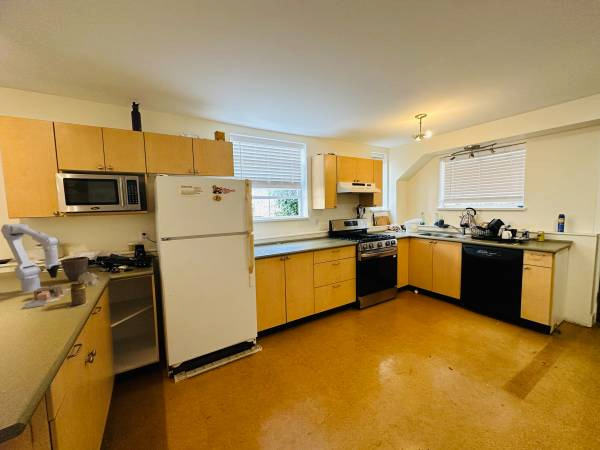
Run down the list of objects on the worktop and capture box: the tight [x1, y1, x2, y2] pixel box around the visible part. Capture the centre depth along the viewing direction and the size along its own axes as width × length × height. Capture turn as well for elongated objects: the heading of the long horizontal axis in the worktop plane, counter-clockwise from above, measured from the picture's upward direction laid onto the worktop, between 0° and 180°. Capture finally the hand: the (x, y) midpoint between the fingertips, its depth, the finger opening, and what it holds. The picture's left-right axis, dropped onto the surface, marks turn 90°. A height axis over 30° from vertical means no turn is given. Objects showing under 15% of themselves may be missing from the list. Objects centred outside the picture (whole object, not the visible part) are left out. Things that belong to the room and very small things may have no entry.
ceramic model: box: [77, 271, 102, 289], centre depth 167 cm, size 14×11×10 cm
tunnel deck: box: [21, 285, 71, 308], centre depth 147 cm, size 26×14×6 cm, turn 27°
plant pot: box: [60, 256, 89, 283], centre depth 180 cm, size 15×15×16 cm
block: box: [37, 291, 50, 300], centre depth 141 cm, size 4×4×4 cm
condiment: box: [66, 281, 90, 309], centre depth 136 cm, size 7×8×12 cm
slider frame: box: [24, 284, 56, 309], centre depth 141 cm, size 23×7×5 cm, turn 27°
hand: (53, 277), depth 156 cm, fingers closed
